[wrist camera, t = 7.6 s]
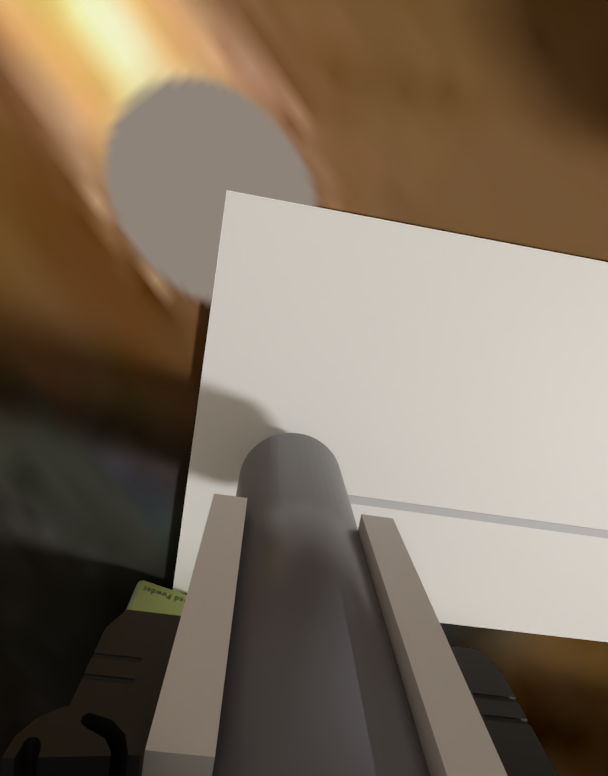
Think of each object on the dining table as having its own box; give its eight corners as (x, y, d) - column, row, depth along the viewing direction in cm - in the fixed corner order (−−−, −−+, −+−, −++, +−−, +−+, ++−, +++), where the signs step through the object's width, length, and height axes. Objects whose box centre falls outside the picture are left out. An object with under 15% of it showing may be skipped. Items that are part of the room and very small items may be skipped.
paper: (173, 586, 20) (172, 592, 20) (227, 190, 17) (226, 189, 16) (671, 645, 22) (678, 650, 22) (800, 299, 19) (810, 300, 18)
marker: (232, 507, 18) (58, 1480, 4) (245, 411, 18) (90, 1164, 3) (331, 519, 19) (526, 1467, 4) (347, 425, 18) (666, 1172, 3)
